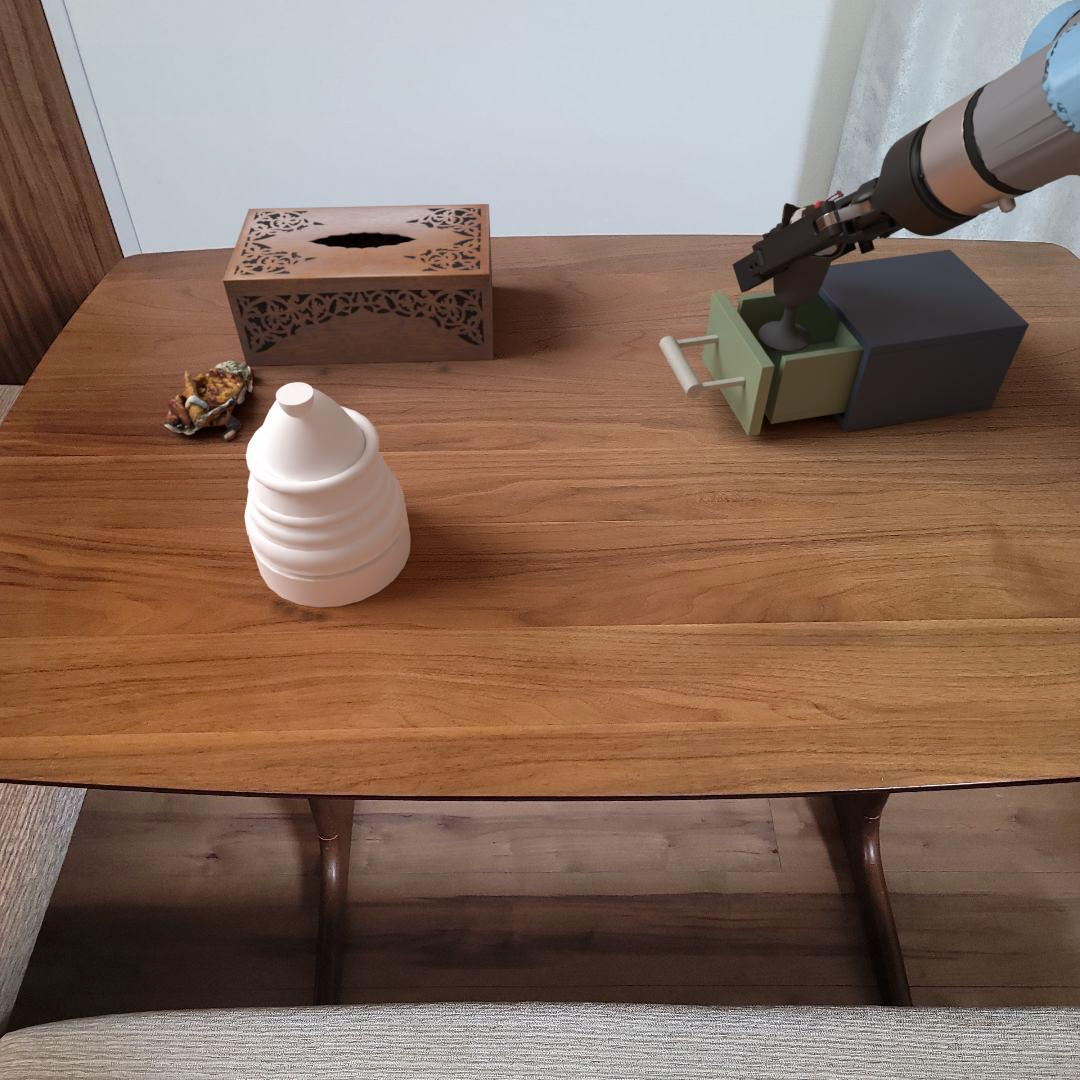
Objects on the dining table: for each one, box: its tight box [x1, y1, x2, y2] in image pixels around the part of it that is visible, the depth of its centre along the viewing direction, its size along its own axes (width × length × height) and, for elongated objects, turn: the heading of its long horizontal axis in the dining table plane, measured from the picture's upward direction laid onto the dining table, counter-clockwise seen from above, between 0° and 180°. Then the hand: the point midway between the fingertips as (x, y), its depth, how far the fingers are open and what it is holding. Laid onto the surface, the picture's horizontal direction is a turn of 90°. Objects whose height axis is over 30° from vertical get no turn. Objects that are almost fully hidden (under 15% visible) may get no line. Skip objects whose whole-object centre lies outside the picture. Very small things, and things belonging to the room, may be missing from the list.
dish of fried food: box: [164, 360, 255, 441], centre depth 91 cm, size 7×12×4 cm, turn 0°
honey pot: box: [244, 381, 412, 608], centre depth 72 cm, size 13×13×18 cm
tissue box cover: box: [222, 203, 494, 367], centre depth 98 cm, size 26×14×10 cm, turn 92°
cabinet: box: [818, 249, 1030, 433], centre depth 92 cm, size 16×14×10 cm
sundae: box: [759, 190, 846, 352], centre depth 83 cm, size 7×7×15 cm
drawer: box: [659, 290, 864, 437], centre depth 89 cm, size 20×13×8 cm, turn 103°
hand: (773, 267), depth 86 cm, fingers closed on sundae, 7 cm apart
